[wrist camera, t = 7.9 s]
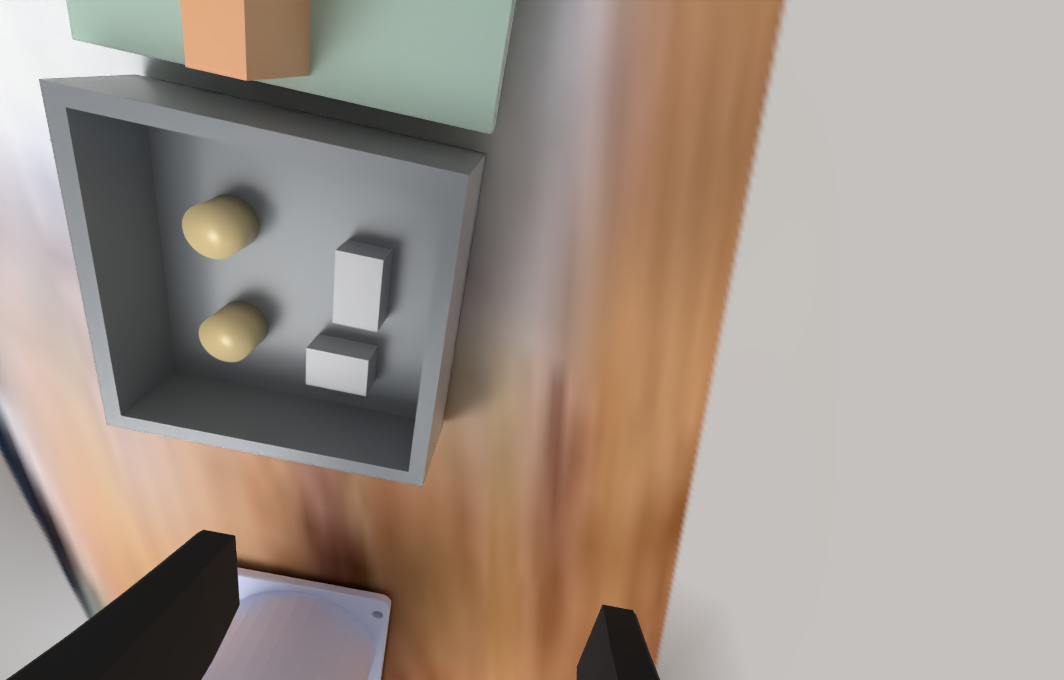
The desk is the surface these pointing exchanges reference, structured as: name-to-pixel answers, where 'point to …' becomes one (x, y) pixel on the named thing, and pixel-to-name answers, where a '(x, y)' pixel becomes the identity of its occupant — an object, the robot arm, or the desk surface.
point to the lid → (327, 47)
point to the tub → (264, 271)
